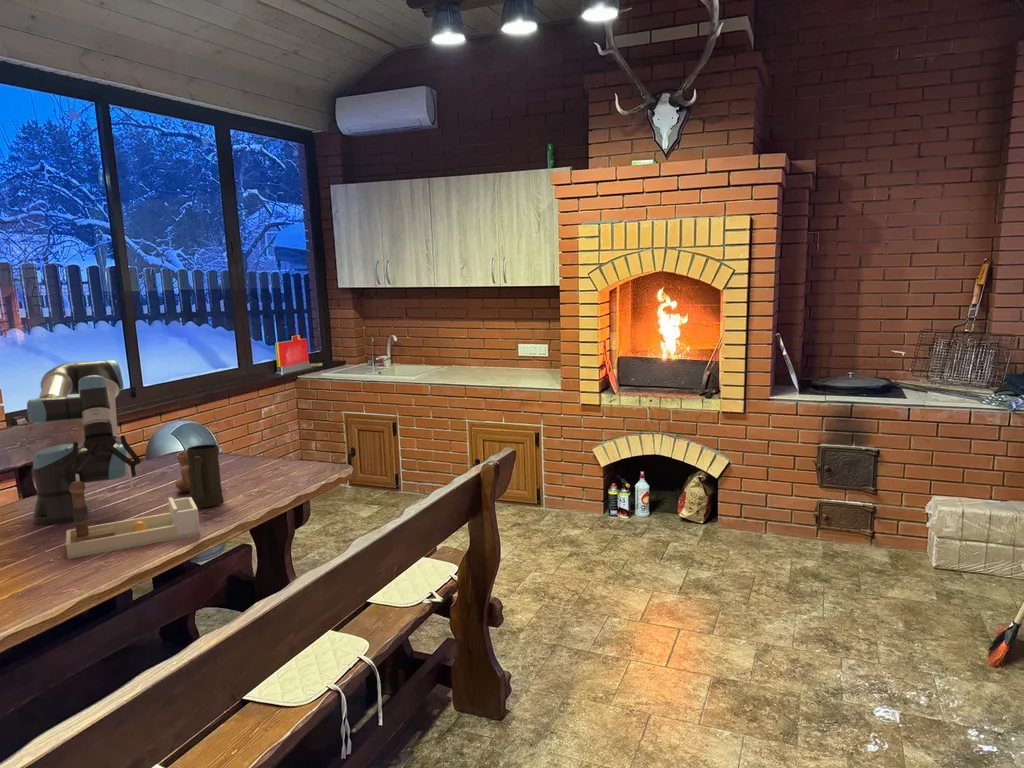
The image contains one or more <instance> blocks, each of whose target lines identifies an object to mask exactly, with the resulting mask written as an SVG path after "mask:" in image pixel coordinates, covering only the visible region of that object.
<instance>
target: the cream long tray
mask: <svg viewBox="0 0 1024 768" xmlns="http://www.w3.org/2000/svg"><path fill="white" fill-rule="evenodd" d="M167 504H168V512H165V513H161V514H160V513H159V514H155V515H149V516H141V517H137V518H131V519H124V520H120V521H113V522H108V523H102V524H96V525H88V531H92V530H98V529H104V528H110V527H114V530H115V536H110V537H104V538H99V539H93V540H87V541H82V542H76V543H75V533H76V528H71V529H67V530H66V533H65V534H66V535H65V548H66V549H65V550H66V556H67V560H70V559H75V558H81V557H86V556H87V557H88V556H92V554H93V555H98V554H103V553H109V552H113V550H114V551H117V550H118V551H119V550H125V549H129V548H135V547H139V546H140V545H141V546H145V545H151V544H156V543H161V542H162V543H163V542H167V541H172V540H173V541H174V540H178V539H183V538H188V536H189V537H192V536H193V535H194V536H198V535H199V534H200V533H201V532H200V530H201V529H200V521H199V518H200V517H199V509H198V507H196V505H195V503H194V501H193V499H192V497H182V498H176V499H174V498H173V497H172V496H171V497H168V503H167ZM139 521H142V522H144V523H146V525H147V530H144V531H138V532H133V531H132V526H133V525H134V524H135V523H136V522H139ZM200 535H201V534H200ZM194 536H193V537H194ZM150 543H151V544H150ZM124 548H125V549H124ZM102 552H103V553H102Z"/></svg>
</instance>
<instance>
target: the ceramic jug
mask: <svg viewBox="0 0 1024 768" xmlns="http://www.w3.org/2000/svg"><path fill="white" fill-rule="evenodd" d="M176 460H177V461H178V463H179V465H180V468H181V469H180V470H181V471H180V476H179V477H178V478H177V480H176V481H175V487H176V489H178V490H179V491H181V492H185V493H190V474H189V460H188V456H187V449H186V450H183V451H179V452H178V453H177V454H176Z"/></svg>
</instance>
